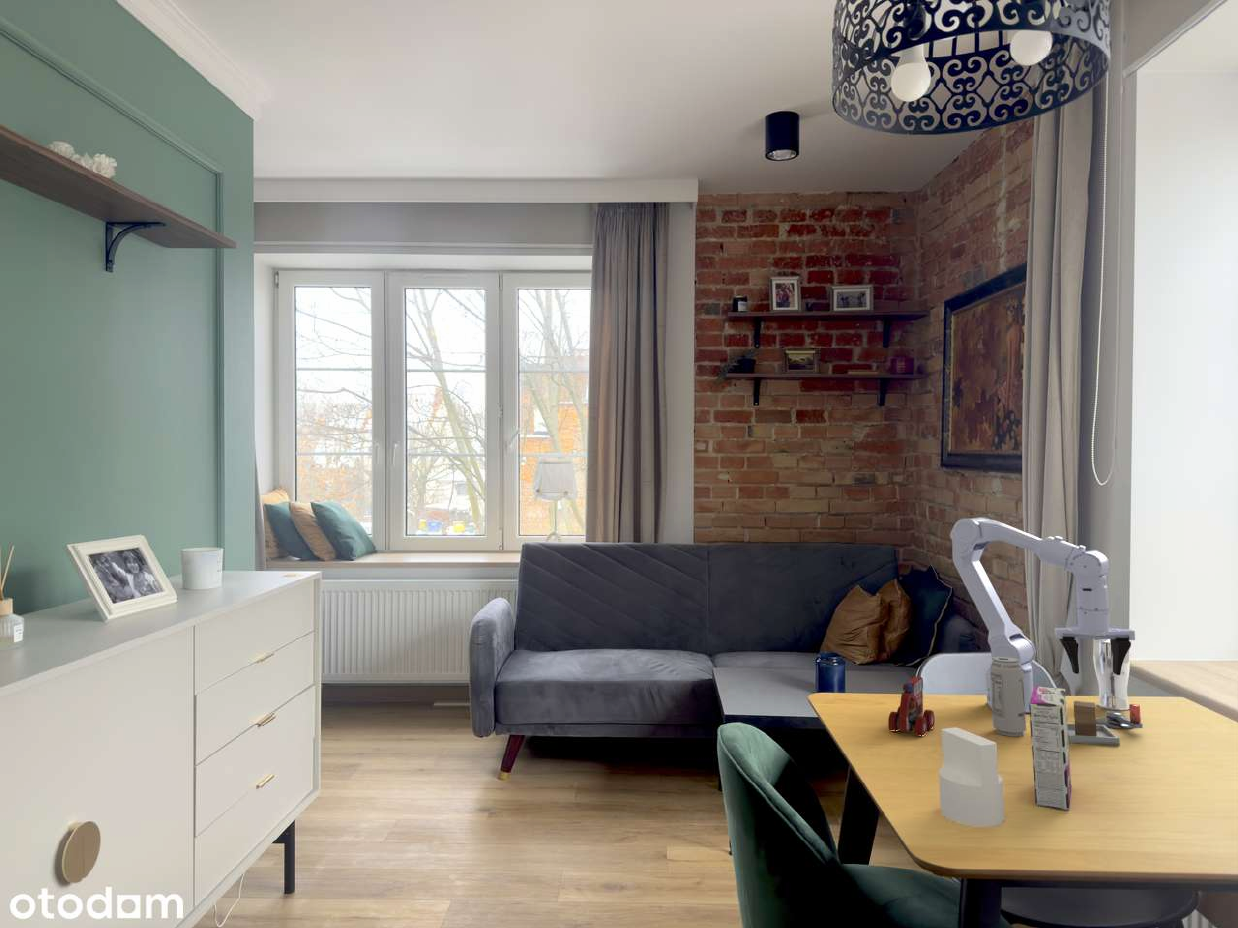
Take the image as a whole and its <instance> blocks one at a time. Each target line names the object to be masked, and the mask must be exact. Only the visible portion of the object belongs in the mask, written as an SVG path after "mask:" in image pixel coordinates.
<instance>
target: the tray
mask: <svg viewBox="0 0 1238 928" xmlns="http://www.w3.org/2000/svg"><path fill="white" fill-rule="evenodd" d="M1067 729H1068V743H1069V744H1085V745H1104V746H1120V745H1121V743H1120V738H1119V736H1118V735H1116V733H1114V732H1113V731H1112V730H1111V728H1108V727H1106V726H1105V725H1098V724H1096V731H1097V736H1081V735H1075V723H1069V722H1067Z"/></svg>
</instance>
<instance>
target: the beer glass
mask: <svg viewBox="0 0 1238 928" xmlns="http://www.w3.org/2000/svg"><path fill="white" fill-rule="evenodd" d="M1092 640H1093V643H1092V644H1093V645H1092V646H1093V647H1092V649H1093V650H1092V659H1093V665H1094V671H1095V675H1096V680H1097V684H1098V689H1099V690H1098V693H1099V694H1098V701H1097V702H1098V703H1097V704H1098V706H1099V708H1102V709H1106V710H1109V711H1127V710H1129V704H1130V701H1129V697H1128V682H1129V677H1130V667H1131V664H1130V663H1131V659H1130V652H1129V651H1130V649H1129V650H1128V652H1127V654H1126V656H1125V658H1124V661H1123V664H1122V668H1121V674H1120V675H1116V674H1114V673H1113V655H1112V648H1111V642H1110V639H1092Z"/></svg>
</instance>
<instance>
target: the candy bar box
mask: <svg viewBox="0 0 1238 928" xmlns="http://www.w3.org/2000/svg"><path fill="white" fill-rule="evenodd" d="M1029 710H1030V713H1029V720H1030V721H1029V725H1030V739H1031V752H1032V766H1033V767H1032V768H1033V782H1034V800H1035V801H1034V802H1035V806H1038V807H1043V808H1047V809H1048V808H1049V809H1054V810H1055V809H1056V810H1061V811H1062V810H1063V811H1070V806H1071V805H1070V804H1071V796H1072V777H1071V765H1070V764H1071V763H1070V762H1071V761H1070V746H1069V744H1070V743H1069V742H1068V729H1067V723H1068V717H1067V715H1068V714H1067V700H1066V689H1065V688H1057V687H1047V686H1045V687H1044V686H1033V692H1032V695H1031V698H1030V701H1029Z"/></svg>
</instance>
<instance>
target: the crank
mask: <svg viewBox="0 0 1238 928" xmlns="http://www.w3.org/2000/svg"><path fill="white" fill-rule="evenodd" d="M1128 710H1129V717H1126V716H1125V715H1124V713H1123V712H1121V711H1119V710H1106V711H1105V718H1109V719H1113V720H1118V721H1120V722H1122V723H1125V724H1127V725H1129V726H1131V727H1134V728H1133V729H1143V723H1142V722H1141V719H1142V718H1141V706H1140V704H1135V703H1129V709H1128Z"/></svg>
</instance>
